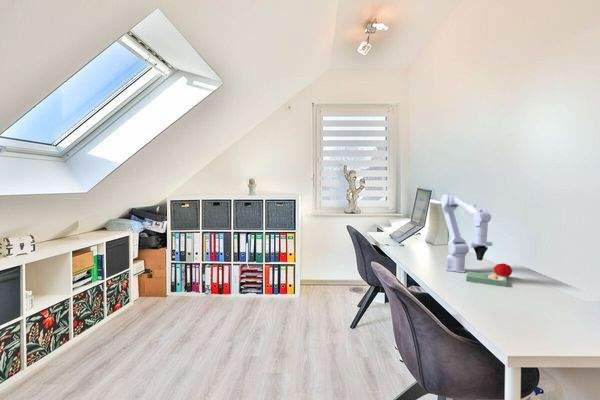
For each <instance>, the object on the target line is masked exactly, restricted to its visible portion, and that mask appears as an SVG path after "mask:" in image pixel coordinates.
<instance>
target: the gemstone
mask: <svg viewBox="0 0 600 400" xmlns="http://www.w3.org/2000/svg"><path fill="white" fill-rule="evenodd" d="M493 273H495V275H500V276H506V278H507V279H508V277H510V275H512V273H513V268H512V267H511V265H510V264H508V263H507V264H506V263H504V262H503V263H497V264H496V265H494V267H493Z"/></svg>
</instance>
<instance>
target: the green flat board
mask: <svg viewBox="0 0 600 400" xmlns="http://www.w3.org/2000/svg"><path fill="white" fill-rule="evenodd" d="M491 275H492V274H490V273H483V272H476V271H467V274H466V279H465V281H466V282H470V283H475V284H476V283H478V284H484V285H490V286H499V287H504V288H505V287H507V285H508V281H507V279H508V277H507V278H506V276H500V275H497V274H496V275H497V276H498V279H493V278H490V276H491Z"/></svg>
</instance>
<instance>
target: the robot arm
mask: <svg viewBox="0 0 600 400" xmlns="http://www.w3.org/2000/svg"><path fill="white" fill-rule="evenodd" d="M439 202H440V205H441V208H442V212H443V216H444V219H445V223H446V227H447V231H448V233H449V238H450V240H449V241H448V242H447V246H448V247H447V249H448V254H446V255H447V256H446V271H449V272H457V273H465V272H466V270H467V269H466V267H465V266H466V263H465V262H466V256H467V254H468V253H469V251H470V248H471V249H472V248H473V250H474V253H475V256H476V260H477V261H483V259H484V257H485V255H486V252H487V251H488V249H489V248H488V247H493V242H492V241H488V228H489V227H488V225H489V222H490V221H491V219H492V216H491V214H490V212H489V211H487V210H485V211H484V210H483V209H481V208H479V207H477V205H476V204H475V203H474V204H470V203H468V202H467V201H466V200H465V199H464V198H463V196H462V195H460V194H458V193H457V194H456V193H455V194H442V196H441V199H440V201H439ZM458 207H461V208H463V209H464V210H465V213H466V214H467V215H469V216H470V217H472V218H473V221H474V222H473V223H474V226H475V229H474V241H473V242H469V243H467V241H466V240H465V239H464V238H463V237H462V236H461V233H460V228H459V226H458V223H457V220H456V216H455V210H457V209H458Z"/></svg>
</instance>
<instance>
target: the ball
mask: <svg viewBox="0 0 600 400" xmlns="http://www.w3.org/2000/svg"><path fill="white" fill-rule="evenodd" d="M490 278H493V279H498V276H497V274H496V273H495V274H494V273H493V274H492V275H491V276H490Z"/></svg>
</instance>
